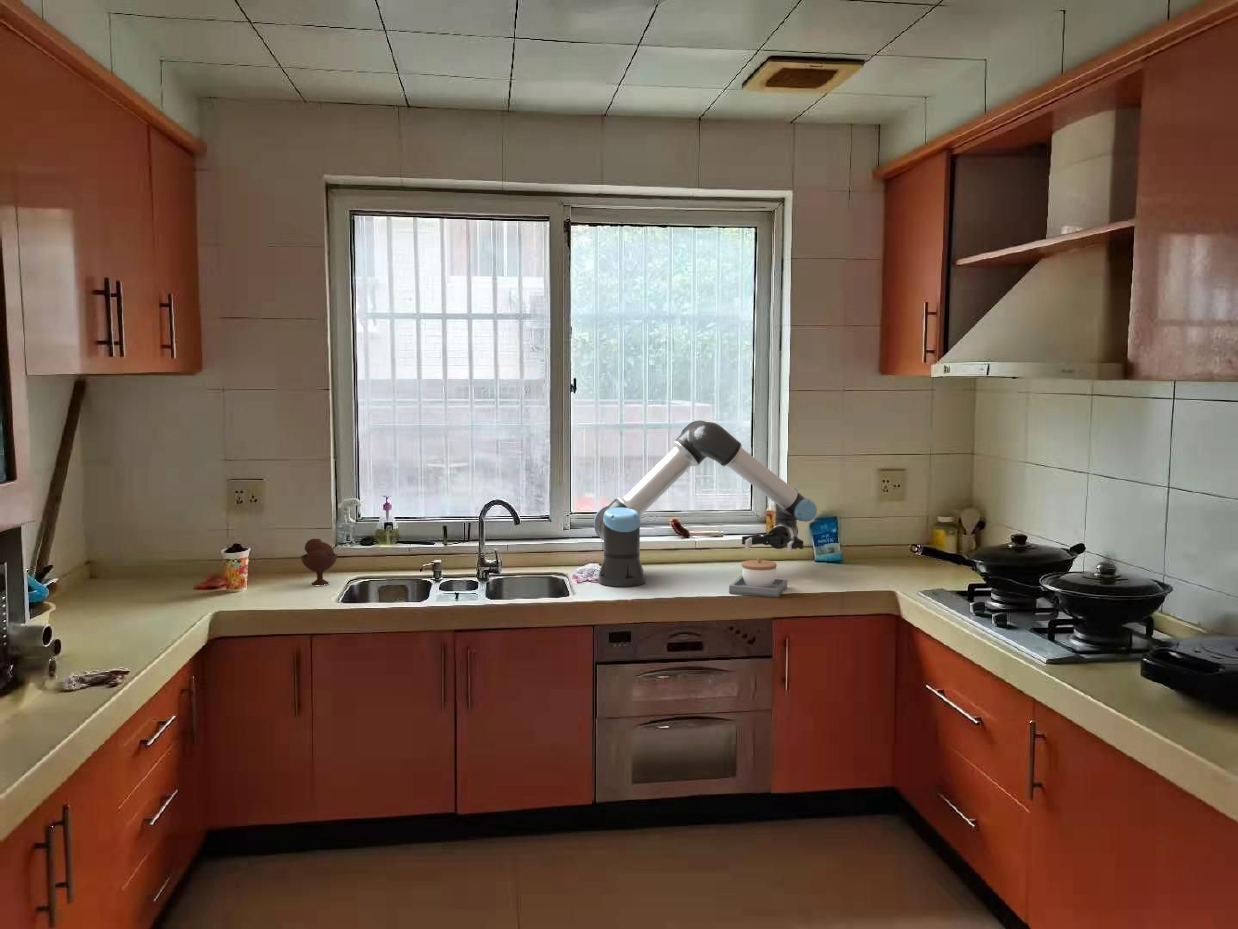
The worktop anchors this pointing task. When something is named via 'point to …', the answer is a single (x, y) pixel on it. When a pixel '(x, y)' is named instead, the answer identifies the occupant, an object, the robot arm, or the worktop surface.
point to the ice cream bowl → (318, 558)
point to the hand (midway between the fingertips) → (767, 546)
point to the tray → (758, 588)
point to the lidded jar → (759, 573)
